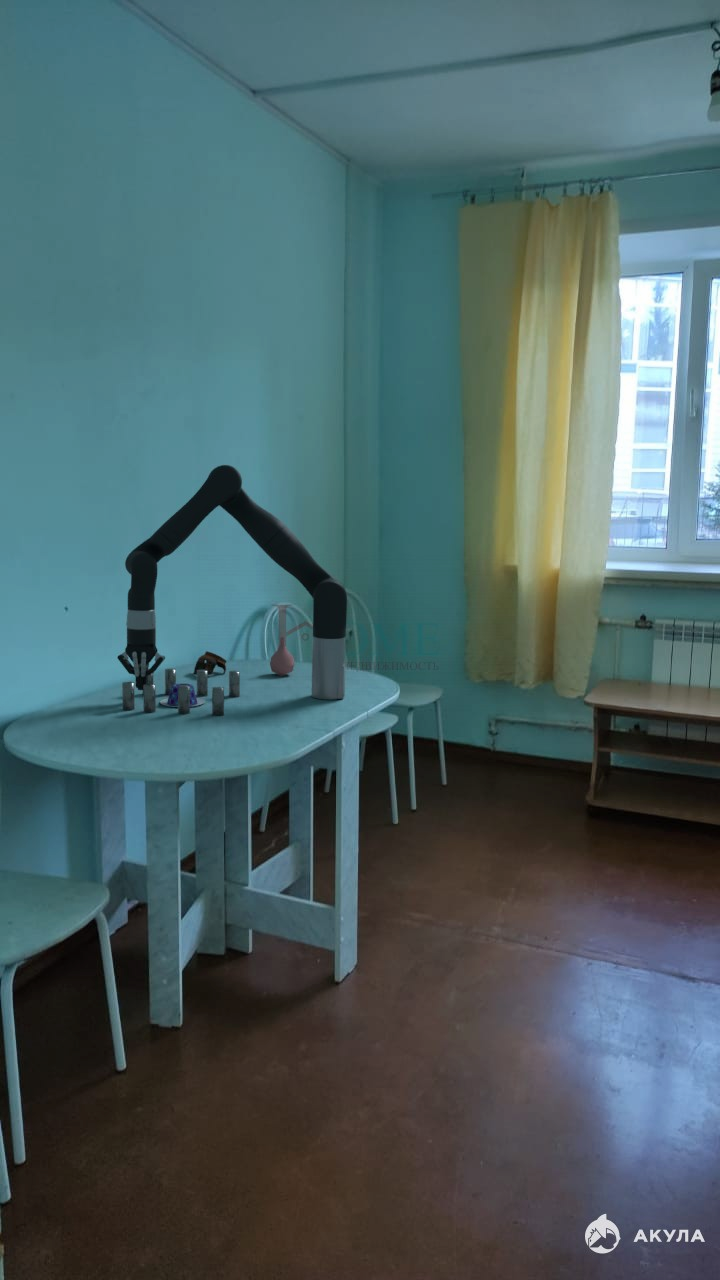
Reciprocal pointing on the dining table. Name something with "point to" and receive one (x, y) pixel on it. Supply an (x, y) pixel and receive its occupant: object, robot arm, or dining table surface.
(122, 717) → the dining table surface
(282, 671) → the perfume bottle
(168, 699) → the pudding
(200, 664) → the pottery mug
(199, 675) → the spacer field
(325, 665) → the robot arm
